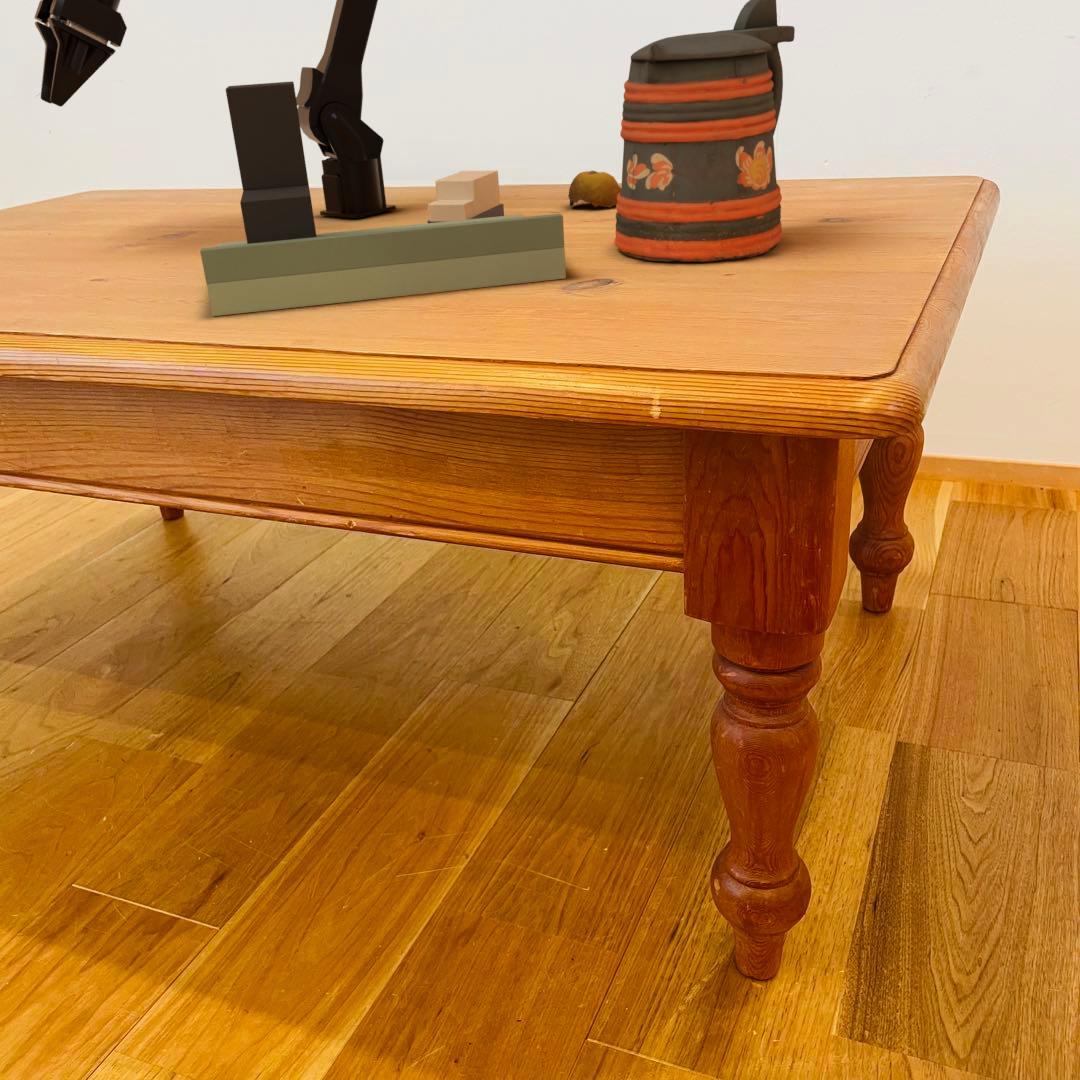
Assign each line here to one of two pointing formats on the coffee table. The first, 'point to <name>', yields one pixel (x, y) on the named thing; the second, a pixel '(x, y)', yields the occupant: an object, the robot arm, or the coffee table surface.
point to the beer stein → (703, 143)
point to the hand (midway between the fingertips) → (50, 103)
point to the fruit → (594, 189)
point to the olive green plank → (383, 263)
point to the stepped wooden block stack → (466, 197)
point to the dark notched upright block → (271, 162)
